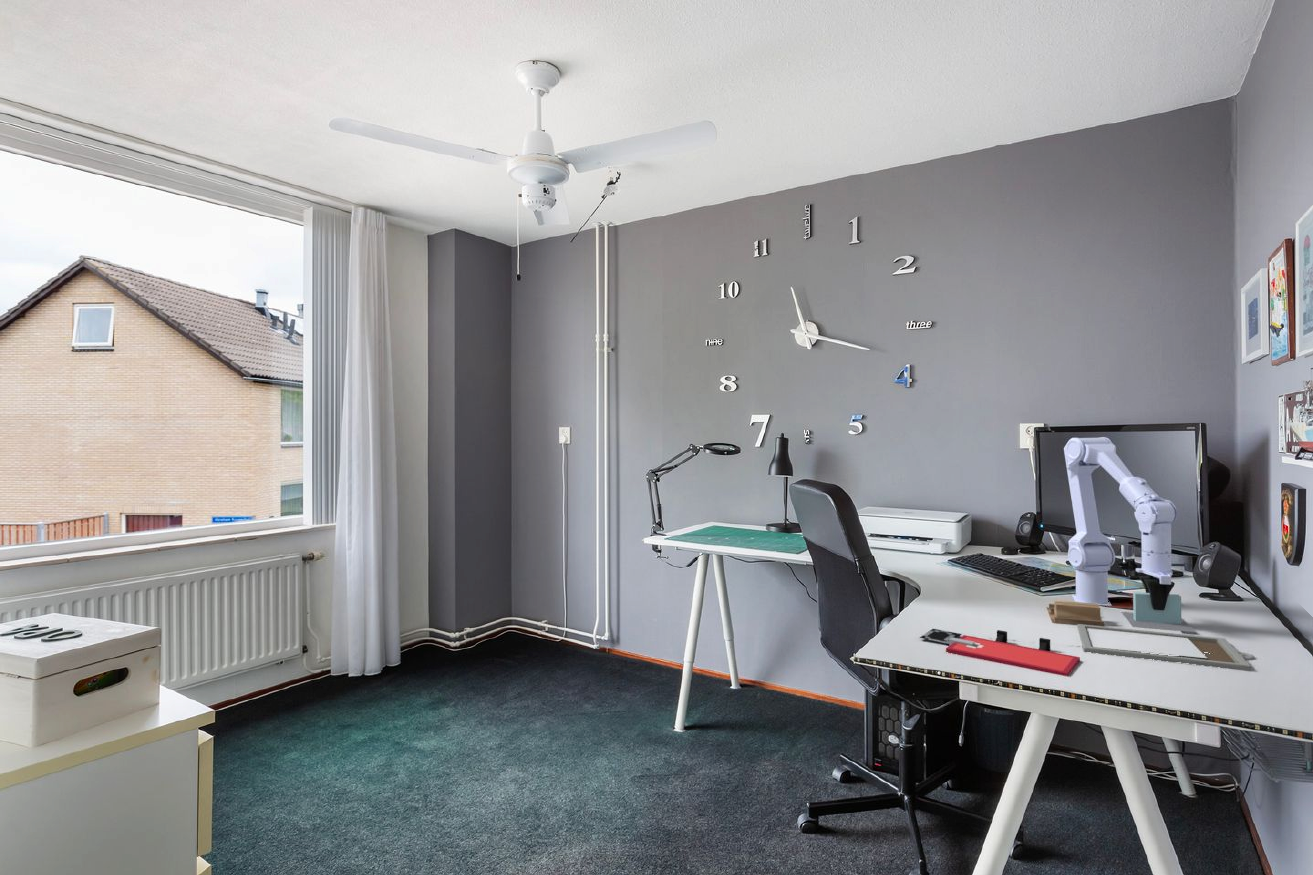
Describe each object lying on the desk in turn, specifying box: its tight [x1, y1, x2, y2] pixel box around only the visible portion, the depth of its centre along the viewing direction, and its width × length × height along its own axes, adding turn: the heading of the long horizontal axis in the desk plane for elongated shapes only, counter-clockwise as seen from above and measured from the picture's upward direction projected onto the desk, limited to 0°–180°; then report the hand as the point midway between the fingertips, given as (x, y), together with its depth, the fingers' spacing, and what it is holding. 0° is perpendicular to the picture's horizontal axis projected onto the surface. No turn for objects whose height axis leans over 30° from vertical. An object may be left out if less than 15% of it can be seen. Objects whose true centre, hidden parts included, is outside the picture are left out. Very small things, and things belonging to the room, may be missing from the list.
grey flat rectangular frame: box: [1076, 624, 1256, 672], centre depth 146 cm, size 19×2×30 cm
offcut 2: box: [1055, 603, 1101, 621], centre depth 164 cm, size 2×9×4 cm, turn 65°
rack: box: [1046, 603, 1107, 627], centre depth 168 cm, size 16×11×2 cm
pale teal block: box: [1132, 591, 1182, 624], centre depth 163 cm, size 2×9×6 cm, turn 68°
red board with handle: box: [919, 628, 1081, 677], centre depth 146 cm, size 30×3×15 cm
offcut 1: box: [1053, 599, 1100, 616], centre depth 166 cm, size 2×9×4 cm, turn 65°
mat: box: [1121, 611, 1198, 635], centre depth 163 cm, size 14×12×1 cm
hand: (1156, 608), depth 163 cm, fingers open, 2 cm apart
